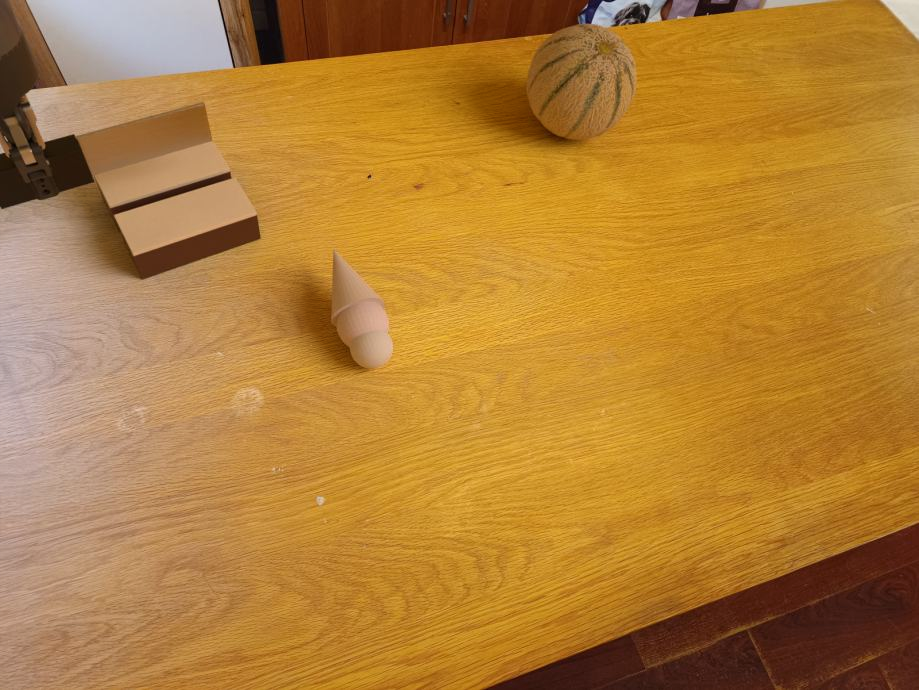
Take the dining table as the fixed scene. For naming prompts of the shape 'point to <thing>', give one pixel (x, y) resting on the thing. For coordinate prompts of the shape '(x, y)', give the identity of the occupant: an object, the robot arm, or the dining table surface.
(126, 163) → the knife
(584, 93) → the cantaloupe
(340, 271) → the ice cream cone
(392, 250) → the dining table surface
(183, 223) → the slotted tan block
